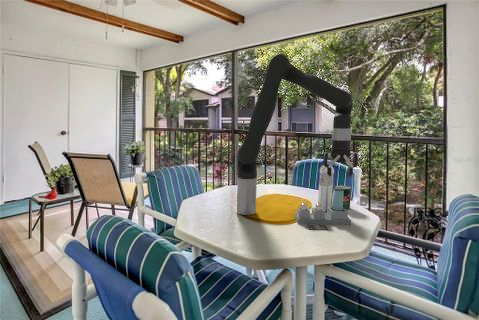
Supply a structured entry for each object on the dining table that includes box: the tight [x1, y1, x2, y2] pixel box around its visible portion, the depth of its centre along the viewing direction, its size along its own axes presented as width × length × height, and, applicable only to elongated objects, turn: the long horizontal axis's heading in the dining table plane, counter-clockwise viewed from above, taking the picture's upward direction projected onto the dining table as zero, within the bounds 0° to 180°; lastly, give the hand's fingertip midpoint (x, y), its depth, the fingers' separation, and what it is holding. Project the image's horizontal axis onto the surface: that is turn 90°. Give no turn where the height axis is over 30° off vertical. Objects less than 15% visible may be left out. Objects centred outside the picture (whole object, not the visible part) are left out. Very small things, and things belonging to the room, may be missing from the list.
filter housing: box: [294, 207, 352, 226], centre depth 134 cm, size 23×9×6 cm, turn 88°
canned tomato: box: [334, 184, 352, 211], centre depth 154 cm, size 8×8×11 cm
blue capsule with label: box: [332, 187, 344, 211], centre depth 133 cm, size 4×4×13 cm
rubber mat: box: [306, 224, 329, 231], centre depth 126 cm, size 8×5×1 cm, turn 88°
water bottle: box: [317, 160, 335, 213], centre depth 148 cm, size 7×7×25 cm
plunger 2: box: [314, 202, 322, 211], centre depth 133 cm, size 3×3×5 cm
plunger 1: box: [300, 202, 308, 210], centre depth 133 cm, size 3×3×5 cm
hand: (339, 176), depth 131 cm, fingers open, 8 cm apart
